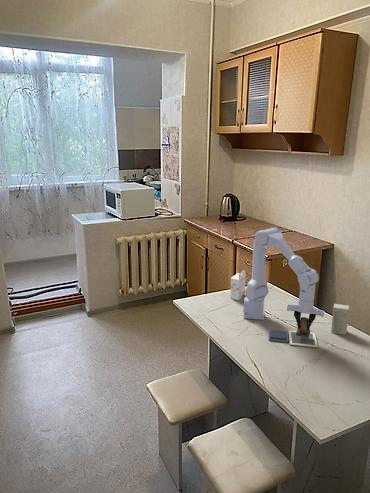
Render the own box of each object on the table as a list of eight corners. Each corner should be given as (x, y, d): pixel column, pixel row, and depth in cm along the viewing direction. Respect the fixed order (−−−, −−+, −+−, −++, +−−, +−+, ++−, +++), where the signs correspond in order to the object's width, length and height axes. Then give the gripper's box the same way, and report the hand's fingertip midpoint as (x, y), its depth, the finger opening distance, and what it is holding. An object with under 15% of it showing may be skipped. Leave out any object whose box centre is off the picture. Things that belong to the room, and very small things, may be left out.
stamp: (295, 335, 155) (297, 320, 153) (298, 329, 159) (299, 315, 157) (308, 338, 153) (310, 322, 151) (310, 332, 157) (311, 317, 155)
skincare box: (346, 330, 163) (350, 305, 160) (346, 335, 159) (349, 309, 156) (331, 327, 166) (334, 302, 162) (330, 332, 162) (333, 307, 158)
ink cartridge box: (236, 292, 203) (237, 267, 198) (245, 294, 200) (246, 269, 196) (229, 298, 196) (230, 272, 191) (238, 300, 193) (239, 274, 189)
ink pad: (268, 340, 156) (268, 337, 155) (268, 332, 163) (268, 328, 162) (288, 342, 154) (288, 339, 154) (287, 334, 161) (287, 330, 160)
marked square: (289, 345, 152) (289, 343, 152) (288, 331, 163) (288, 330, 163) (317, 348, 150) (318, 346, 150) (314, 334, 161) (314, 333, 160)
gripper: (326, 297, 152) (322, 327, 156) (289, 292, 157) (287, 321, 161) (324, 304, 145) (321, 335, 149) (287, 298, 151) (284, 328, 155)
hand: (303, 328), depth 155 cm, fingers closed on stamp, 3 cm apart
